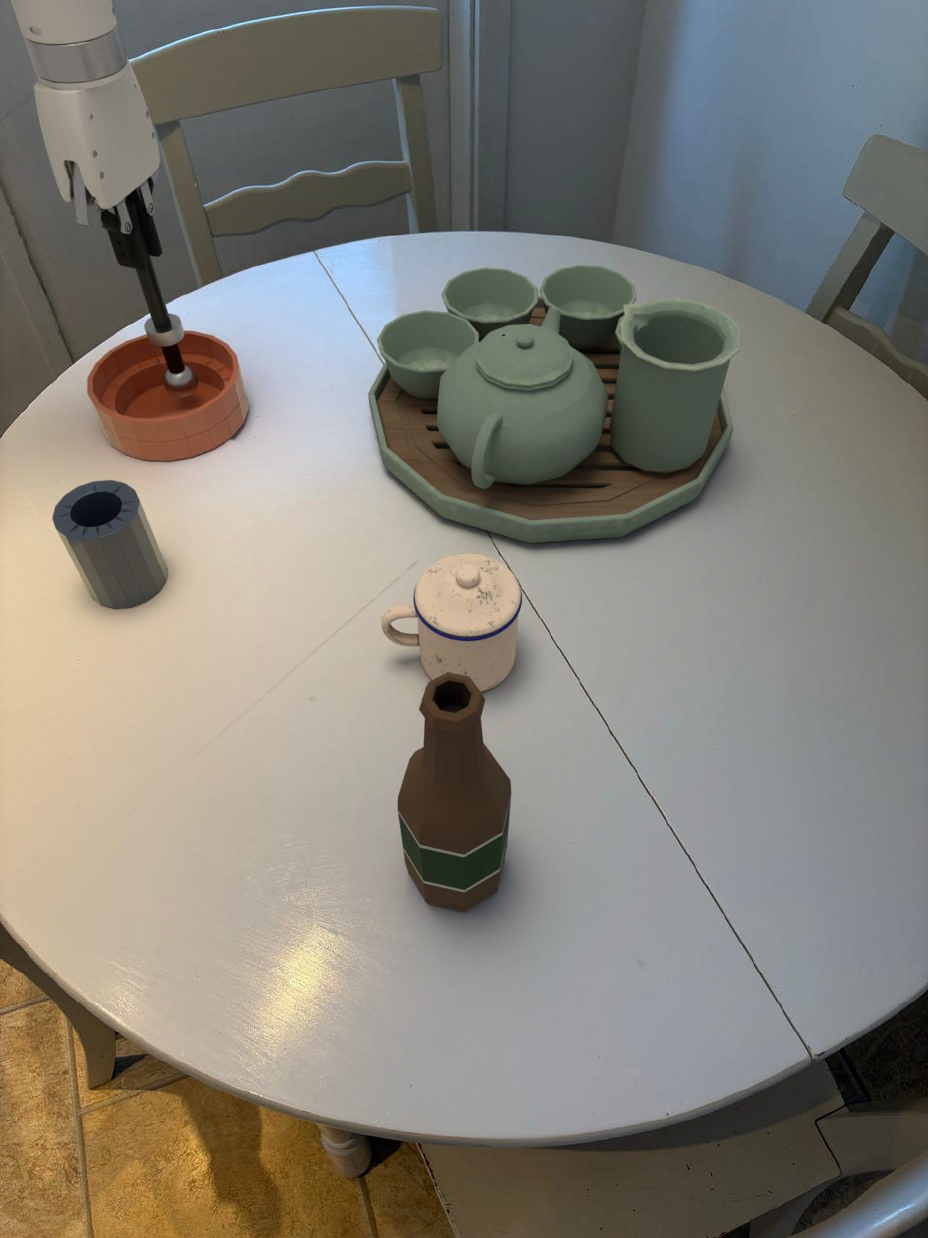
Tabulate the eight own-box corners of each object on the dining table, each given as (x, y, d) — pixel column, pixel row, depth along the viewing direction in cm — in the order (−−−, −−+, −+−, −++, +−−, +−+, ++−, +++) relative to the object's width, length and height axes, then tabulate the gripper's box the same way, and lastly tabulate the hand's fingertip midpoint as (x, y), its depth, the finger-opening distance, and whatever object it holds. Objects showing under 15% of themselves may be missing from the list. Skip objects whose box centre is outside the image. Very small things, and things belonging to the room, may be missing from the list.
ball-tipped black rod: (161, 397, 101) (95, 206, 84) (187, 380, 103) (128, 190, 86) (183, 410, 99) (120, 218, 82) (209, 393, 101) (153, 202, 84)
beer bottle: (446, 801, 72) (438, 618, 53) (526, 854, 69) (548, 681, 50) (385, 876, 68) (353, 708, 49) (468, 936, 65) (468, 782, 46)
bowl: (75, 423, 101) (56, 380, 96) (187, 356, 109) (174, 313, 104) (166, 486, 95) (151, 442, 90) (278, 410, 102) (269, 366, 98)
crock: (75, 586, 86) (35, 513, 78) (136, 542, 90) (105, 468, 82) (122, 624, 83) (86, 552, 75) (184, 578, 87) (156, 504, 79)
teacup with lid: (513, 614, 84) (518, 528, 75) (522, 695, 78) (529, 612, 69) (385, 620, 83) (375, 534, 74) (386, 702, 78) (375, 620, 69)
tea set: (696, 321, 113) (726, 192, 100) (749, 554, 88) (798, 423, 75) (385, 316, 114) (375, 188, 101) (351, 546, 89) (331, 415, 76)
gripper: (94, 14, 79) (151, 215, 94) (-22, 83, 70) (61, 294, 84) (167, 24, 78) (214, 228, 92) (58, 97, 68) (129, 310, 83)
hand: (140, 258), depth 88 cm, fingers closed on ball-tipped black rod
